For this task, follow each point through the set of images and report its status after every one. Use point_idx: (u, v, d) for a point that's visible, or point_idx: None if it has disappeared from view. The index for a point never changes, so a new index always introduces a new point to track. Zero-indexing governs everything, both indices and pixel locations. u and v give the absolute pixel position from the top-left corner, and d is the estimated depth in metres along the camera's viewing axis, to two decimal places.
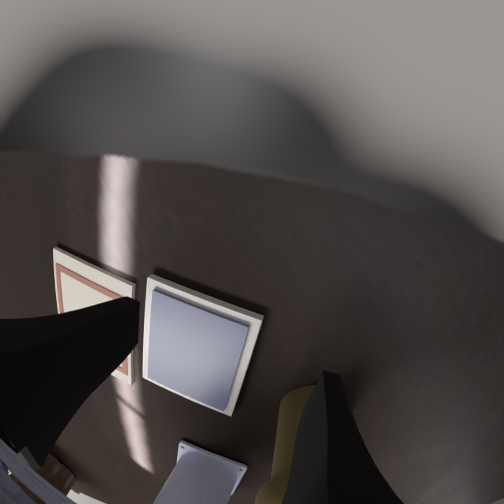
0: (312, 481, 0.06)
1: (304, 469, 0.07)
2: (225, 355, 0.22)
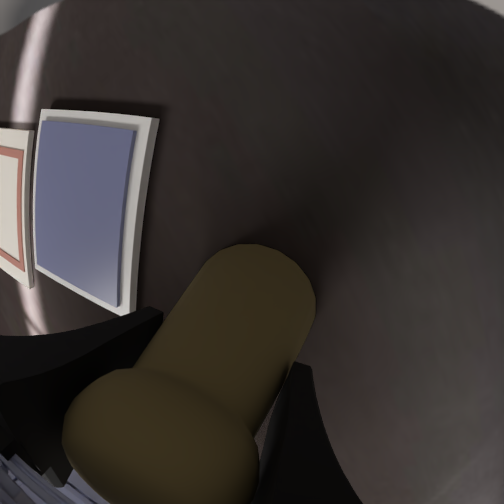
0: (270, 470, 0.06)
1: (268, 459, 0.07)
2: (107, 191, 0.14)
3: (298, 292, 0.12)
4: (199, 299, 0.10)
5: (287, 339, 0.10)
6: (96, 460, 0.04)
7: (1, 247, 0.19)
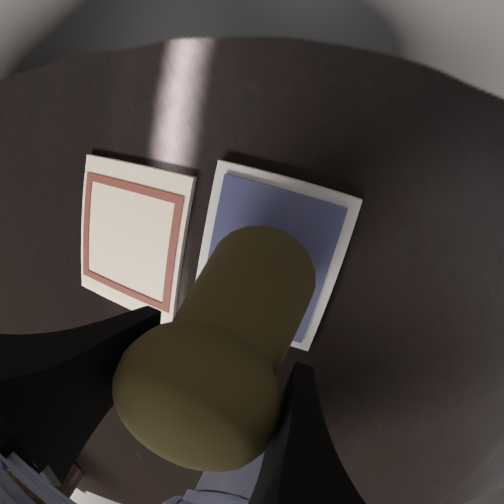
0: (273, 471, 0.06)
1: (270, 460, 0.07)
2: (315, 253, 0.18)
3: (301, 265, 0.15)
4: (221, 269, 0.12)
5: (294, 302, 0.12)
6: (154, 393, 0.07)
7: (128, 286, 0.24)
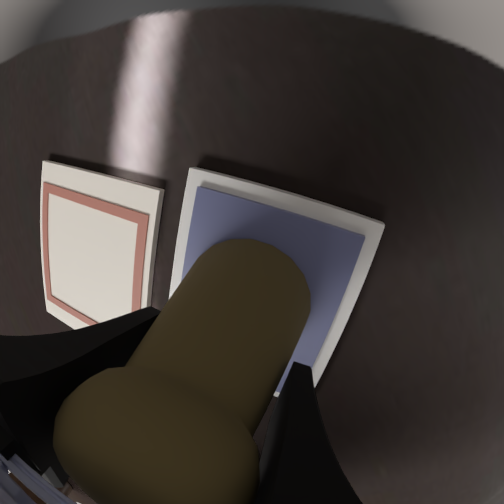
0: (270, 470, 0.06)
1: (268, 459, 0.07)
2: (318, 295, 0.14)
3: (293, 287, 0.12)
4: (193, 294, 0.10)
5: (283, 335, 0.10)
6: (89, 464, 0.04)
7: (93, 318, 0.19)
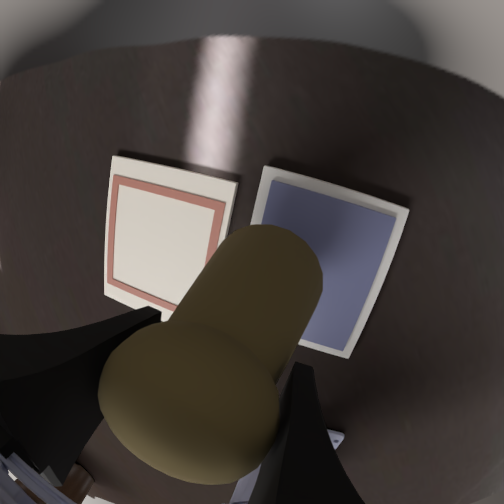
0: (272, 471, 0.06)
1: (270, 460, 0.07)
2: (362, 262, 0.18)
3: (308, 266, 0.14)
4: (222, 268, 0.11)
5: (299, 304, 0.12)
6: (137, 399, 0.06)
7: (159, 296, 0.23)
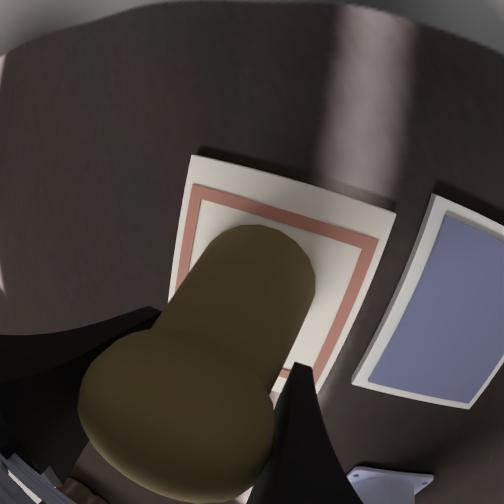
0: (271, 470, 0.06)
1: None
2: None
3: (300, 268, 0.13)
4: (209, 271, 0.11)
5: (292, 309, 0.11)
6: (119, 416, 0.05)
7: None
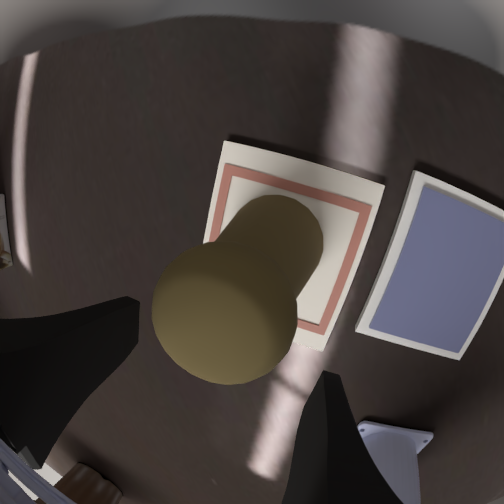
0: (312, 481, 0.06)
1: (304, 469, 0.07)
2: (489, 269, 0.15)
3: (311, 225, 0.17)
4: (245, 219, 0.15)
5: (306, 249, 0.15)
6: (195, 286, 0.09)
7: None
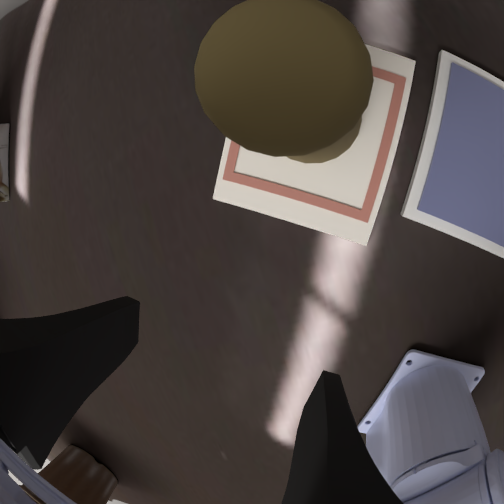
0: (312, 481, 0.06)
1: (304, 469, 0.07)
2: None
3: None
4: None
5: None
6: (262, 3, 0.06)
7: (308, 190, 0.18)
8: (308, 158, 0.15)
